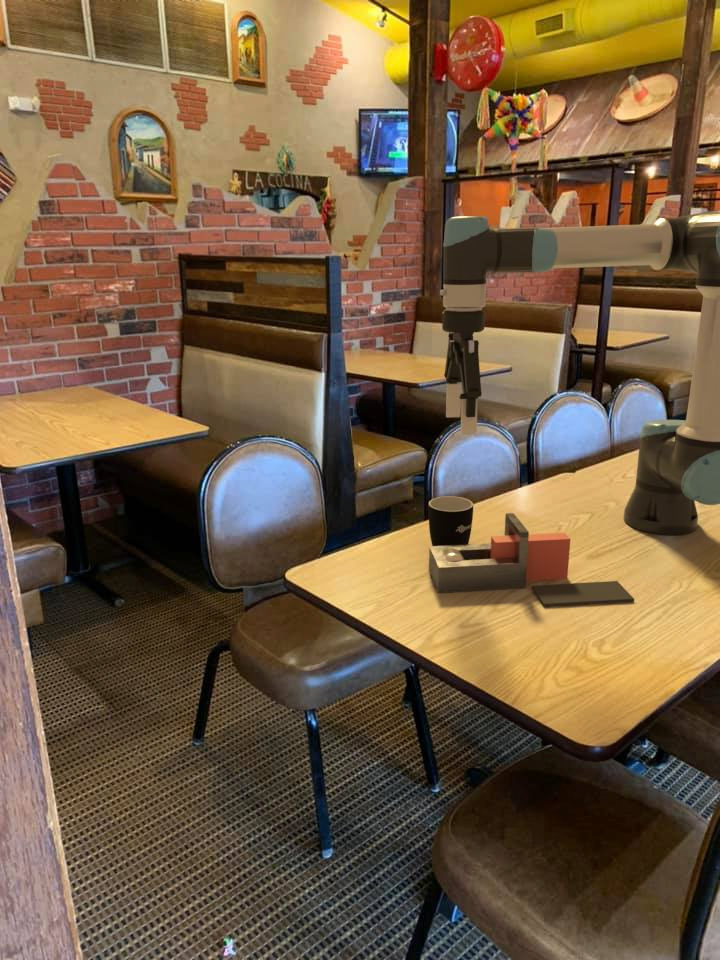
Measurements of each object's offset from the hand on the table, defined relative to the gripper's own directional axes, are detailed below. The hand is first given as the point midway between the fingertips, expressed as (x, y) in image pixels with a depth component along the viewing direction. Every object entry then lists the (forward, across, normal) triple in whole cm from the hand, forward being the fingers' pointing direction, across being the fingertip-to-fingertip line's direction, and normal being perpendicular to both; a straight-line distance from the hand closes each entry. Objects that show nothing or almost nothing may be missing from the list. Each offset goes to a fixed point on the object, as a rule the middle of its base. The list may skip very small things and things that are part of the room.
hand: (460, 425), depth 135 cm
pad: (+27, +18, +19) cm, 38 cm away
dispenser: (+27, +9, +3) cm, 29 cm away
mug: (+28, -6, +1) cm, 28 cm away
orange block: (+28, +9, +12) cm, 31 cm away
